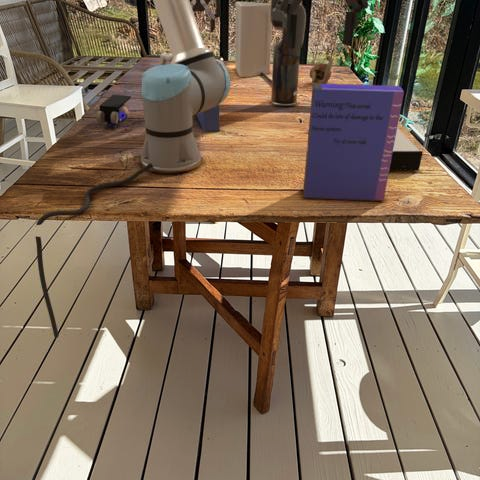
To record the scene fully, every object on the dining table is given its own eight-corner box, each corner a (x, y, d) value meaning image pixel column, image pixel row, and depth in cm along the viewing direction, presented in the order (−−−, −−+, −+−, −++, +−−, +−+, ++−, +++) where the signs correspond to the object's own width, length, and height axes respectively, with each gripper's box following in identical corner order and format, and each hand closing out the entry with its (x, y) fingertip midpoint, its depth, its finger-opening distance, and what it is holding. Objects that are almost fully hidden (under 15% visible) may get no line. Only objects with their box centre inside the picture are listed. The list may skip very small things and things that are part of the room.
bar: (219, 131, 146) (219, 101, 141) (204, 132, 145) (203, 102, 140) (206, 107, 168) (205, 81, 163) (192, 108, 167) (191, 81, 162)
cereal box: (379, 191, 109) (398, 84, 97) (383, 201, 105) (404, 90, 93) (303, 188, 110) (312, 82, 98) (304, 197, 106) (314, 88, 94)
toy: (179, 75, 210) (178, 59, 206) (155, 65, 227) (154, 49, 224) (226, 69, 222) (226, 53, 218) (199, 60, 239) (199, 45, 235)
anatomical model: (319, 90, 206) (319, 91, 192) (304, 75, 205) (303, 75, 191) (340, 67, 202) (342, 66, 188) (325, 52, 201) (326, 50, 187)
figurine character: (119, 135, 145) (134, 115, 156) (115, 111, 140) (131, 93, 152) (98, 134, 145) (114, 114, 157) (93, 110, 141) (110, 92, 152)
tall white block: (273, 76, 210) (276, 6, 196) (239, 77, 209) (240, 6, 194) (266, 67, 226) (268, 2, 212) (235, 67, 225) (235, 1, 210)
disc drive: (349, 170, 120) (352, 151, 117) (332, 140, 139) (334, 123, 137) (418, 171, 120) (423, 152, 118) (392, 140, 140) (395, 124, 137)
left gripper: (375, -69, 99) (360, 41, 110) (263, -73, 92) (259, 45, 103) (396, -70, 93) (378, 46, 104) (278, -74, 86) (272, 51, 97)
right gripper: (217, -27, 148) (218, 30, 156) (171, -27, 145) (174, 31, 153) (222, -26, 141) (222, 33, 150) (173, -26, 139) (177, 34, 147)
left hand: (319, 46), depth 103 cm, fingers open, 13 cm apart
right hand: (198, 32), depth 152 cm, fingers open, 8 cm apart
